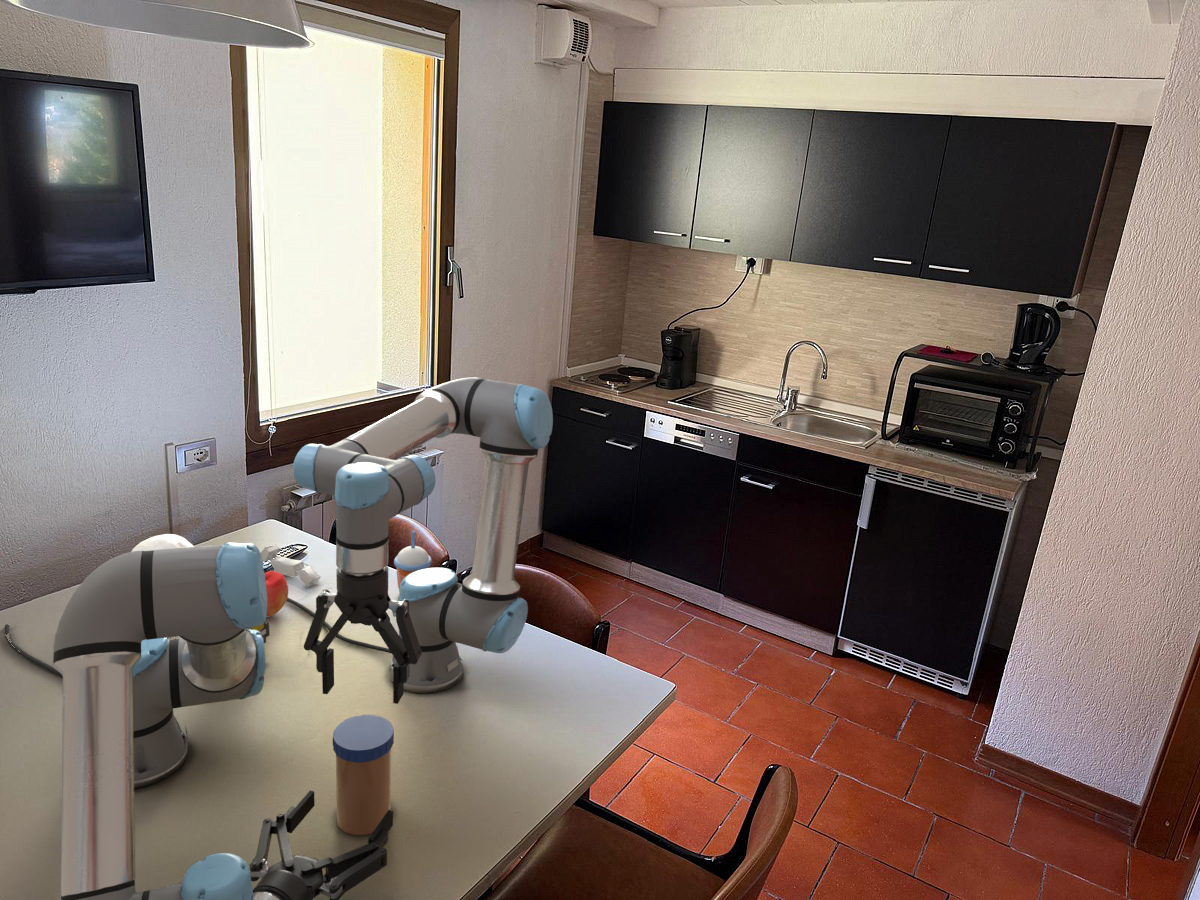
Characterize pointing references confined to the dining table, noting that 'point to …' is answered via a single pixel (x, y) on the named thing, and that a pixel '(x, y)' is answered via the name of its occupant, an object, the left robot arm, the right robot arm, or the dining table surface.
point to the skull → (162, 543)
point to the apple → (275, 592)
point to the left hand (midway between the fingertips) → (351, 807)
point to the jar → (362, 794)
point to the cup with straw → (411, 560)
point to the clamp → (289, 566)
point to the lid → (363, 738)
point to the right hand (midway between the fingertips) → (363, 694)
